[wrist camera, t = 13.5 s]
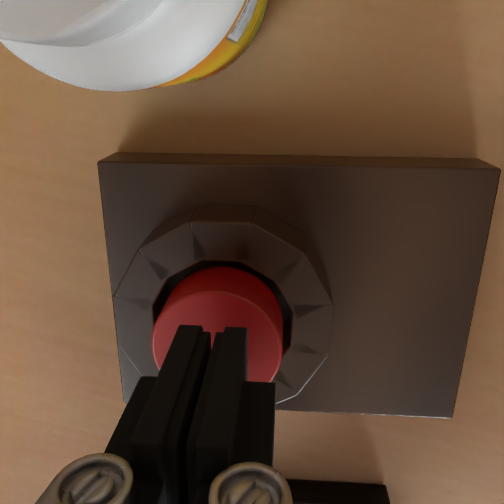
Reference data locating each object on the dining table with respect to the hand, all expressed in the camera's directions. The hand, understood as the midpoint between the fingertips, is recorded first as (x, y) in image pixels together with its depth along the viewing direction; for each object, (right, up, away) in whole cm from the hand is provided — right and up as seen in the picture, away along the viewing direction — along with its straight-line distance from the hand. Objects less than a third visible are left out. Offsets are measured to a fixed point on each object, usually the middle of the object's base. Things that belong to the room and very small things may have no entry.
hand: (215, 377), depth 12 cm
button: (0, +1, +3) cm, 3 cm away
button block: (+2, +2, +6) cm, 6 cm away
